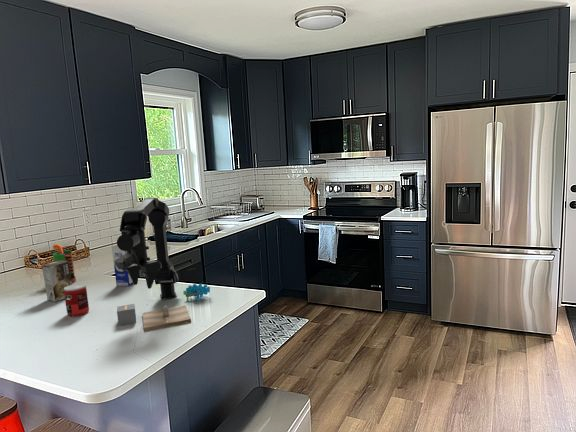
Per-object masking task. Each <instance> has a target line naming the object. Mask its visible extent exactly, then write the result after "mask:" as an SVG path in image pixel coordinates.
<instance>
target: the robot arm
mask: <svg viewBox="0 0 576 432" xmlns="http://www.w3.org/2000/svg"><path fill="white" fill-rule="evenodd" d="M169 216H170V209H169V207H168V205H167V204H166V202H163V201H161V200H160V199H159V198H158V197H155V196H153V197H145V198H143V200H142V201H141V203H139V204H138V205H137V206H136V207H134V208H130V209H127V210H124V211H123V214H122V216H121V219H120V220H121V221H120V225H119V226H120V228H119V232H120V233H121V235H119V237H118V238H117V240H116V246H118V248H119V249H121V250H122V251H127V253H126V254H125V255H123V256H121V257H120V258H118V259H117V260H115V261H114V262H115V264H116V266H117V268H118V269H122V270H126V271H128V273H129V275H130V277H131V279H132V281H133V285H134V286H137V285H138V281H139V277H140V274H142V275H143V276H144V277H145V282H146V287H147V289H149V290H151V289H152V287H153V285H154V284H155V285H160V294H159V295H160V296H159V297H160V300H166V299H167V300H168V299H171V298H177V297H178V295H177V292H176V289H175V284H176V283H179V276H178V275H179V274H178V273H177V271H176V270H175V268H174V264H173V263H172V261H171V260H170V259H169V250H168V241H167V239H168V238H167V230H166V229H167V228H166V227H167V225H166V224H167V222H169ZM147 220H148V222H149V223H150V224H151V226H152V227H153V234H154V243H155V253H156V259H152V260H151V257H150V256H148V250H149V249H150V247H149V246H148V245H147V242H146V235H145V230H146V224H147ZM114 262H113V263H114ZM140 270H141V272H140Z"/></svg>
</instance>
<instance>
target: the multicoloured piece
mask: <svg viewBox="0 0 576 432" xmlns="http://www.w3.org/2000/svg"><path fill="white" fill-rule="evenodd" d="M52 246H53V248H52V249H53V250H58V251H56V252H53V253H52V260H53V262H56V261H60V260H63V261H69V267H70V273H71V279H72V284H74V283H76V282H77V277H76V276H75V275H76V274H75V267H74V258H73V253H72V250H71V249H70V250H69V249H68V250H67V249H65V250H63V247H62V245H61V244H59V243H56V244H52Z"/></svg>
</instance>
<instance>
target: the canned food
mask: <svg viewBox="0 0 576 432" xmlns="http://www.w3.org/2000/svg"><path fill="white" fill-rule="evenodd" d="M64 296H65V298H64V300H65V303H64V304H65V307H66V309H65V310H66V314H67V316H69V317H79V316H83V315H86V314H88V313H89V311H90V306H89V298H88V291H87V286H86V283H75V284H74V283H73V284H72V285H70V286H67V287H65V288H64Z"/></svg>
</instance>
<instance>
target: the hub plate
mask: <svg viewBox="0 0 576 432" xmlns="http://www.w3.org/2000/svg"><path fill="white" fill-rule="evenodd" d="M161 308H162V309H157V310H156V309H155V310H151V311H146V312H142V320H143V331H144V332H146V331H147V332H148V331H152V330H157V329H163V328H166V327H168V328H169V327H174V326H178V325H184V324H188V323H189V324H190V323H192V318H191V316H190V313H189V310H188V309H187V306H186V305H180V306H179V305H178V306H173V307H169V305H164V306H162V307H161Z"/></svg>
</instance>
